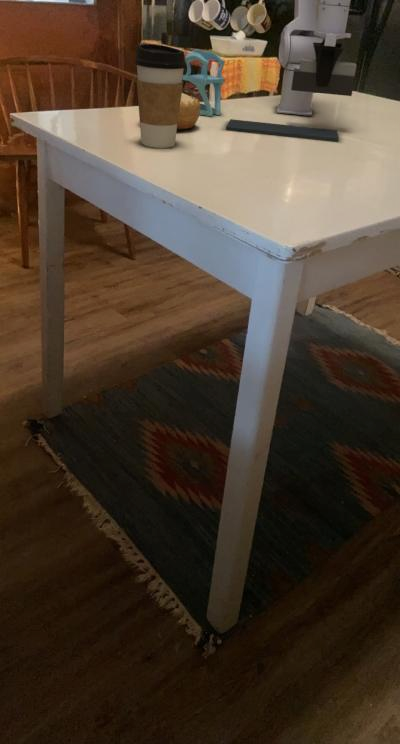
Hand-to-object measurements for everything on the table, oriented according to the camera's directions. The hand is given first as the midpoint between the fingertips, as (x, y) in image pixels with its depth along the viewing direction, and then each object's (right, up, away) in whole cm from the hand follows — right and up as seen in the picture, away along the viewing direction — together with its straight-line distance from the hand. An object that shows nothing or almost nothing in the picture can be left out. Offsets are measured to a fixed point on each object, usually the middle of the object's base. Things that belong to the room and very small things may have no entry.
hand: (321, 84), depth 122 cm
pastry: (-31, -10, -3) cm, 32 cm away
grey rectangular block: (0, -1, +1) cm, 1 cm away
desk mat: (-8, -10, 0) cm, 13 cm away
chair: (-24, -2, +10) cm, 26 cm away
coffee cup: (-32, -18, -16) cm, 40 cm away
